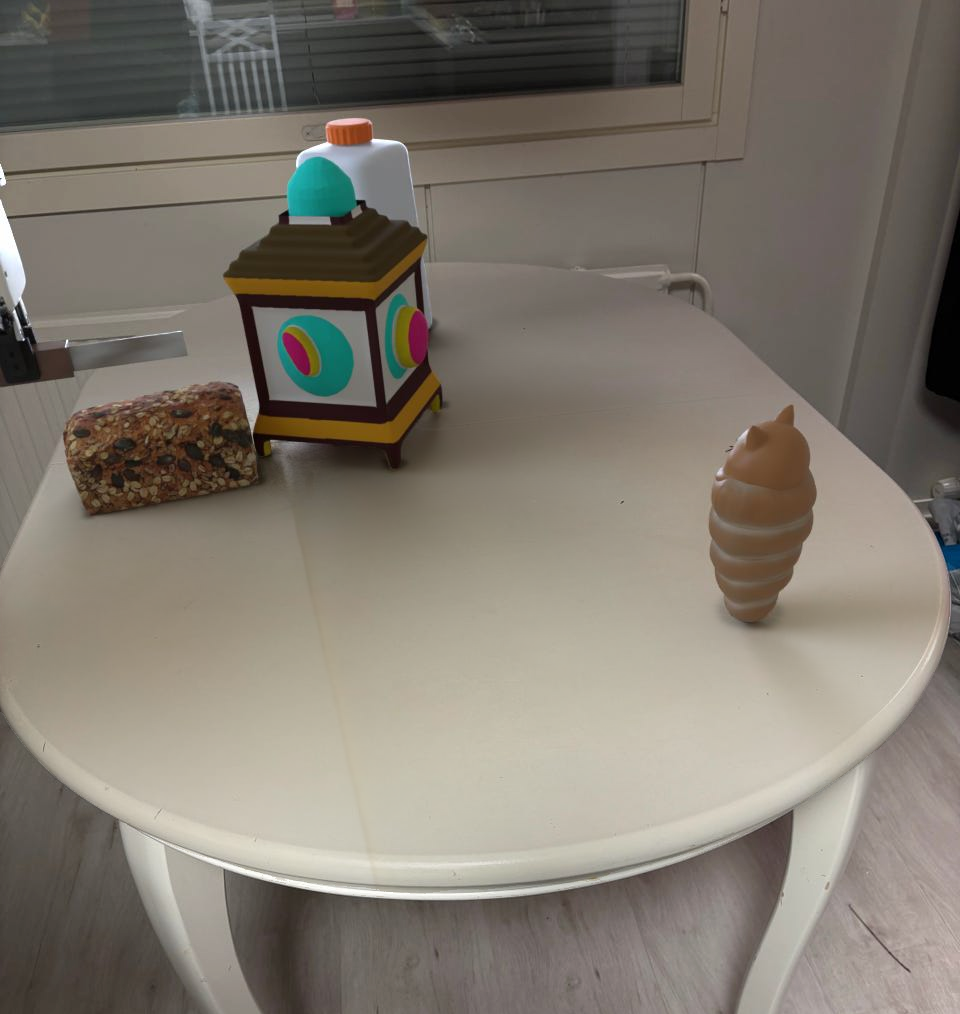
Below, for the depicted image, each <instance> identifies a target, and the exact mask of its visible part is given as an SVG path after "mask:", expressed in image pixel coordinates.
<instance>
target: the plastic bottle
mask: <svg viewBox="0 0 960 1014" xmlns="http://www.w3.org/2000/svg"><path fill="white" fill-rule="evenodd" d="M324 127H325V128H324V129H325V135H326V142H324V143H321V144H318V145H315V146H312V147H310V148H308V149H305V150H303V151H301V152H300V153H299V154H298V155H297V157H296V161H295V164H296V169H297V168H298V167H299V166H300V165H301V164H302V163H303V162H304V161H305V160H307V159H309V158H311V157H318V156H320V157H323V158H326V159H328V160H330V161H332V162H334V163H335V164H336V165H337V166H339V167H340V168H341V169H342V170H343V171H344V172H345V173H346V174H347V175H348V176H349V177H350V179H351V181H352V184H353V187H354V191H355V198H356V200H366V206H367V207H368V208H374V209H376V210H377V212H378V214H380V215H385V216H387V217H388V219H396V220H406V221H408V222H409V224H410V225H411V226H415V227H418V228H419V229H420V225H419V219H418V218H419V217H418V212H417V206H416V205H417V204H416V199H415V191H414V184H413V178H412V172H411V165H410V159H409V158H410V157H409V151H408V148H407V147H406V145H404V144H403V143H402V142H400V141H397V140H391V139H379V138H374V129H373V122H371V120H370V119H368V118H362V117H350V118H349V117H348V118H339V119H335V120H331V121H329V122H328V121H327V123H326V125H325V126H324ZM426 272H427V271H426V266H425V259H424V254H423V255H422V258H421V277H422V289H423V301H424V313H425V318H426V320H427V325H428V330H429V329H430V328H431V327H432V324H433V314H432V313H433V312H432V307H431V306H432V305H431V300H430V294H429V293H430V292H429V287H428V279H427V273H426Z"/></svg>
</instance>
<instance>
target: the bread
mask: <svg viewBox="0 0 960 1014" xmlns="http://www.w3.org/2000/svg"><path fill="white" fill-rule="evenodd" d="M246 410H247V409H246V406H245V401H244V397H243V394H242V391H241V390H240V387H239V386H238V385H237V384H235V383H233V382H227V381H226V382H225V381H220V380H219V381H210V382H205V383H202V384H196V383H195V384H192V385H189V386H185V387H182V388H178V389H165V390H162V391H157V392H154V393H152V394H144V395H143V396H137V397H136V398H134V399H133V398H132V399H131V398H130V399H123V400H119V401H114V402H108V403H106V404H101V405H96V406H92V407H88V408H84V409H80V410H78V411H76V412H75V413H73V414H72V415H71V416H70V417H69V418H68V419H67V420H66V421H65V429H63V431H62V440H63V445H64V449H65V450H64V454H65V459H66V464H67V469H68V470H69V473H70V475H71V479H72V480H73V483H74V485H75V488H76V491H77V494H78V496H79V498H80V500H81V503H82V506H83V507H84V509H85V510H86V512H87V514H88V515H89V516H95V515H100V514H102V515H103V514H106V513H112V512H117V511H123V510H129V509H133V508H138V507H143V506H149V505H154V504H160V503H165V502H170V501H176V500H180V499H181V500H182V499H186V498H193V497H197V496H200V495H207V494H213V493H217V492H218V493H219V492H221V491H228V490H233V489H237V488H240V487H242V488H243V487H246V486H251V485H256V484H259V483H260V482H259V472H258V467H257V465H258V464H257V456H256V455H257V454H256V450H255V446H254V441H253V431H252V428H251V426H250V422H249V418H248V413H247V411H246Z"/></svg>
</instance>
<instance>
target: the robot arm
mask: <svg viewBox="0 0 960 1014" xmlns="http://www.w3.org/2000/svg"><path fill="white" fill-rule="evenodd" d="M6 184H7V182H6V179H5V175H4V172H3V169H2V166H1V165H0V188H1V187H4V186H5V185H6ZM26 282H27V280H26V273H25V270H24V266H23V262H22V259H21V256H20V253H19V249H18V247H17V244H16V241H15V238H14V236H13V232H12V229H11V226H10V223H9V221H8V218H7V215H6V213H5V209H4V207H3V204H2V200H1V199H0V367H1V370H2V373H3V375H4V378H5V381H6V382H7V383H8V384H14V383H21V382H28V381H35V380H39V379H40V377H41V373H40V370H39V368H38V365H37V362H36V359H35V356H34V353H33V350H32V347H31V344H37V343H38V340H37V337H36V335H35V331H34V329H33V326H31V323H30V319H29V315H28V312H27V310H26V306H25V303H24V301H23V298H22V295H23V293H24V290H25V287H26Z"/></svg>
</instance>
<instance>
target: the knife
mask: <svg viewBox="0 0 960 1014" xmlns="http://www.w3.org/2000/svg"><path fill="white" fill-rule="evenodd" d="M31 347H32V350H33V353H34V356H35V359H36V362H37V365H38V368H39V370H40V373H41V377H40V379H39V380H35V381H28V382H21V383H14V384H8V383H7V382H6V381H5V378H4V375H3V373H2V370H1V367H0V388H7V387H13V386H21V385H29V384H35V383H43V382H50V381H56V380H64V379H71V378H76V373H77V372H80V371H81V372H82V371H89V370H95V369H104V368H111V367H118V366H125V365H133V364H139V363H147V362H154V361H161V360H168V359H169V360H170V359H176V358H182V357H188V356H189V353H188V348H187V343H186V341H185V336H184V332H183V330H176V331H170V332H169V331H168V332H163V333H154V334H147V335H146V334H145V335H139V336H132V337H125V338H116V339H109V340H102V341H94V342H87V343H79V344H72V345H70V343H69V340H68V339H61V340H53V341H46V342H45V341H44V342H37V344H31Z"/></svg>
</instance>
